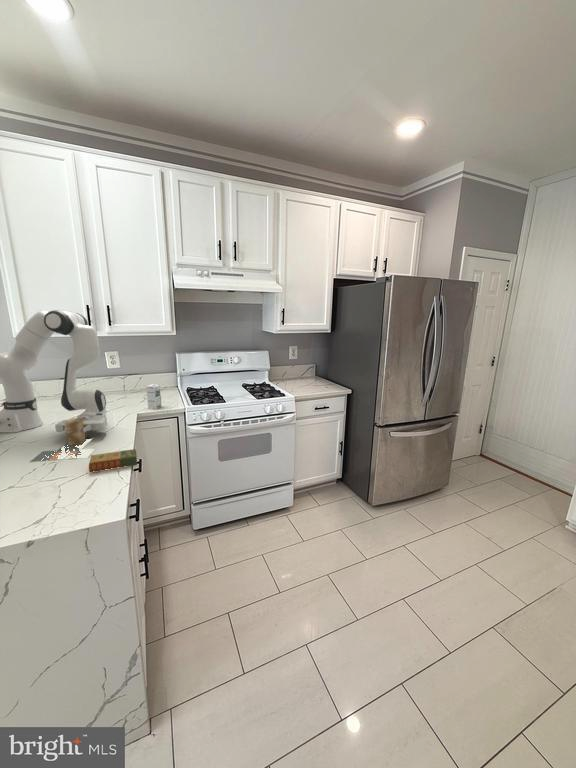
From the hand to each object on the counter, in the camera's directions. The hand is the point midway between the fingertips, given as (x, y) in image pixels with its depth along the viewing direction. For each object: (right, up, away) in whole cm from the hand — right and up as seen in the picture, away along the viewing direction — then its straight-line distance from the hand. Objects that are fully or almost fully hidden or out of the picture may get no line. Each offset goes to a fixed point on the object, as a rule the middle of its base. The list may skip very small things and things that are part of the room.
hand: (74, 431), depth 141 cm
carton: (+27, -11, -16) cm, 34 cm away
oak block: (0, -6, +2) cm, 6 cm away
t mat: (+1, -7, -3) cm, 8 cm away
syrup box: (+12, +6, +58) cm, 59 cm away
